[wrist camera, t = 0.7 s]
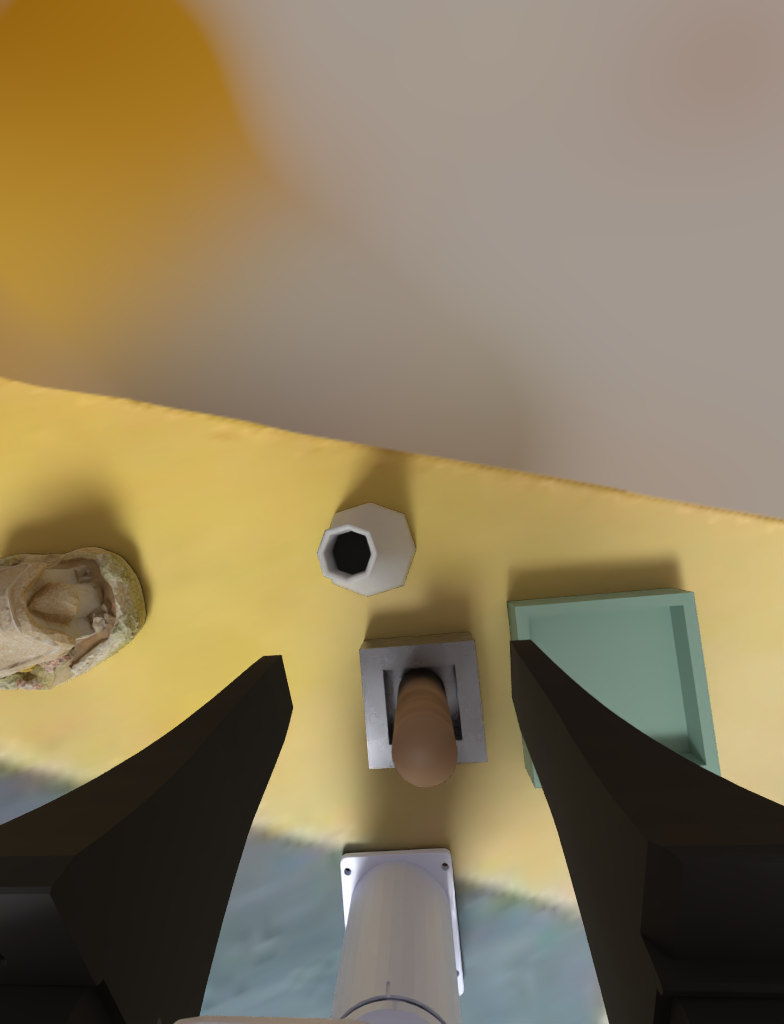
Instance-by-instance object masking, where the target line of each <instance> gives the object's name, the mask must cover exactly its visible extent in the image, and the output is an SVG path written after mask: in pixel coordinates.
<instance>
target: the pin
mask: <svg viewBox="0 0 784 1024" xmlns="http://www.w3.org/2000/svg"><path fill="white" fill-rule="evenodd" d="M457 758H458V750H457V745H456V740H455V735H454V730H453V725H452V720H451V715H450V711H449V706H448V701H447V696H446V691H445V687H444V684H443V682H442V680H441V679H440V677H439V676H438V675H437V674H435V673H434V672H432V671H430V670H427V669H415V670H412V671H410V672H408V673H407V674H406V675H405V676H404V677H403V678H402V680H401V681H400V684H399V687H398V695H397V704H396V713H395V723H394V732H393V741H392V760H393V764H394V766H395V768H396V770H397V772H398V773H399V774H400V776H401V777H402V778H403V779H404V780H406V781H407V782H409V783H410V784H412V785H415V786H418V787H433V786H437V785H439V784H441V783H443V782H444V781H445V780H447V779H448V778H449V777H450V775H451V774H452V773H453V771H454V769H455V766H456V763H457Z"/></svg>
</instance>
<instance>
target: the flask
mask: <svg viewBox="0 0 784 1024" xmlns="http://www.w3.org/2000/svg"><path fill="white" fill-rule="evenodd" d="M415 552H416V548H415V545H414V542H413V539H412V536H411V533H410V529H409V526H408V523H407V520H406V517H405V514H402V513H400V512H397V511H394V510H391V509H388V508H385V507H382V506H380V505H377V504H374V503H371V502H369V503H366V504H362V505H359V506H356V507H353V508H350V509H347V510H344V511H340V512H337V513H335V514H334V517H333V520H332V522H331V525H330V528H329V529H327V530H325V532H324V535H323V537H322V540H321V543H320V546H319V548H318V551H317V555H318V558H319V562H320V565H321V569H322V572H323V575H324V577H327V578H330V579H331V580H332V583H333V584H334V585H337V586H340V587H343V588H345V589H348V590H351V591H353V592H356V593H359V594H362V595H364V596H367V597H369V596H372V595H375V594H378V593H382V592H385V591H388V590H391V589H394V588H398V587H401V586H404V583H405V580H406V577H407V574H408V572H409V569H410V566H411V563H412V560H413V557H414V554H415Z"/></svg>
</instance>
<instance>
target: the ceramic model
mask: <svg viewBox="0 0 784 1024" xmlns="http://www.w3.org/2000/svg"><path fill="white" fill-rule="evenodd" d="M145 618H146V610H145V602H144V597H143V593H142V588H141V586H140V582H139V580H138V578H137V576H136V574H135V573H134V572H133V570H132V568H131V567H130V566H129V564H128V563H127V562H126V561H125V560H124V559H123V558H122V557H120V556H119V555H117V554H115V553H112V552H110V551H106V550H104V549H102V548H98V547H86V548H80V549H76V550H74V551H71V552H68V553H65V554H46V555H39V554H19V555H14V556H7V557H6V558H4V559H1V560H0V688H1V689H2V690H17V689H20V688H21V689H25V690H52V689H53V688H55V687H57V686H60V685H62V684H64V683H66V682H68V681H70V680H72V679H74V678H76V677H78V676H80V675H82V674H84V673H86V672H88V671H89V670H91V669H92V668H93V667H96V666H97V665H99V664H100V663H102V662H103V661H106V660H107V659H108V658H110V657H111V656H113V655H114V654H116V653H118V651H119V650H121V649H122V648H124V647H125V646H126V645H127V644H129V643H130V642H131V641H132V640H133V639H134V637H135V636H136V635H137V634H138V633H139V631H140V630H141V628H142V627H143V625H144V622H145Z"/></svg>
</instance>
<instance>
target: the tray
mask: <svg viewBox="0 0 784 1024" xmlns="http://www.w3.org/2000/svg"><path fill="white" fill-rule="evenodd" d="M507 608H508V617H509V626H510V635H511V641H513V640H528V639H531V640H532V641H533V642H534V643H535V644H536V645H537V646H538V647H539V648H540V649H541V650H542V651H543V652H544V653H545V654H546V655H547V656H548V657H549V658H550V659H551V660H552V661H553V662H554V663H556V664H557V665H558V666H559V667H560V668H561V669H562V670H563V671H564V672H565V673H566V674H567V675H569V676H570V677H571V678H572V679H573V680H574V681H575V682H576V683H578V684H579V685H580V686H581V687H582V688H583V689H584V690H586V691H587V692H588V693H589V694H590V695H592V696H593V697H594V698H595V699H597V700H598V701H599V702H601V703H602V704H603V705H604V706H606V707H607V708H608V709H610V710H611V711H612V712H614V713H615V714H616V715H618V716H619V717H621V718H622V719H624V720H625V721H627V722H628V723H630V724H631V725H632V726H634V727H635V728H637V729H638V730H640V731H641V732H643V733H644V734H646V735H648V736H649V737H651V738H652V739H654V740H656V741H657V742H659V743H661V744H662V745H664V746H666V747H667V748H669V749H671V750H672V751H674V752H676V753H678V754H679V755H681V756H683V757H684V758H686V759H688V760H690V761H692V762H694V763H695V764H697V765H699V766H701V767H703V768H705V769H707V770H709V771H711V772H713V773H714V774H716V775H718V776H720V777H721V773H720V766H719V759H718V752H717V746H716V739H715V732H714V725H713V719H712V712H711V705H710V698H709V692H708V685H707V678H706V671H705V664H704V658H703V651H702V644H701V637H700V631H699V624H698V617H697V610H696V604H695V597H694V592H690V591H685V590H680V589H675V588H664V589H652V590H640V591H628V592H616V593H604V594H592V595H580V596H568V597H556V598H544V599H532V600H520V601H508V602H507ZM522 742H523V751H524V760H525V768H526V770H527V772H528V774H529V776H530V778H531V781H532V783H533V785H534V787H535V788H542V786H541V784H540V781H539V778H538V776H537V773H536V770H535V768H534V765H533V762H532V760H531V757H530V754H529V752H528V749H527V746H526V744H525V741H524V738H523V736H522Z"/></svg>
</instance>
